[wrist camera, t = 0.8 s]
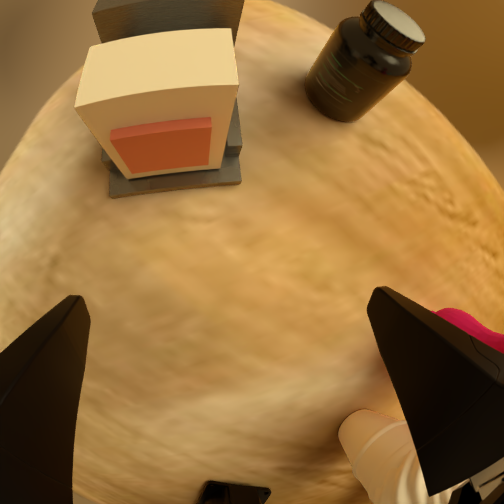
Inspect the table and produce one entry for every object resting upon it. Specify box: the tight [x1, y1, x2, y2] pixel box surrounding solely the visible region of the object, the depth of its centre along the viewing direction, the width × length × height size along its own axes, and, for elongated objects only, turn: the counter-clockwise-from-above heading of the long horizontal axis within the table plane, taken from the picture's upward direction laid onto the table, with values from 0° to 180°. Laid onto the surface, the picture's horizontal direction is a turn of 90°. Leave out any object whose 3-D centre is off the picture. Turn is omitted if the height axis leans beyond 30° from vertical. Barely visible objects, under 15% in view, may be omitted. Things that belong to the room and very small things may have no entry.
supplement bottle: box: [305, 0, 425, 122], centre depth 17 cm, size 7×7×12 cm
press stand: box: [92, 0, 244, 199], centre depth 15 cm, size 13×10×10 cm
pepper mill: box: [431, 308, 504, 354], centre depth 13 cm, size 7×7×20 cm
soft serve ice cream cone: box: [338, 409, 466, 504], centre depth 13 cm, size 8×8×16 cm
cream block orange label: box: [74, 28, 239, 179], centre depth 14 cm, size 5×7×10 cm, turn 97°
